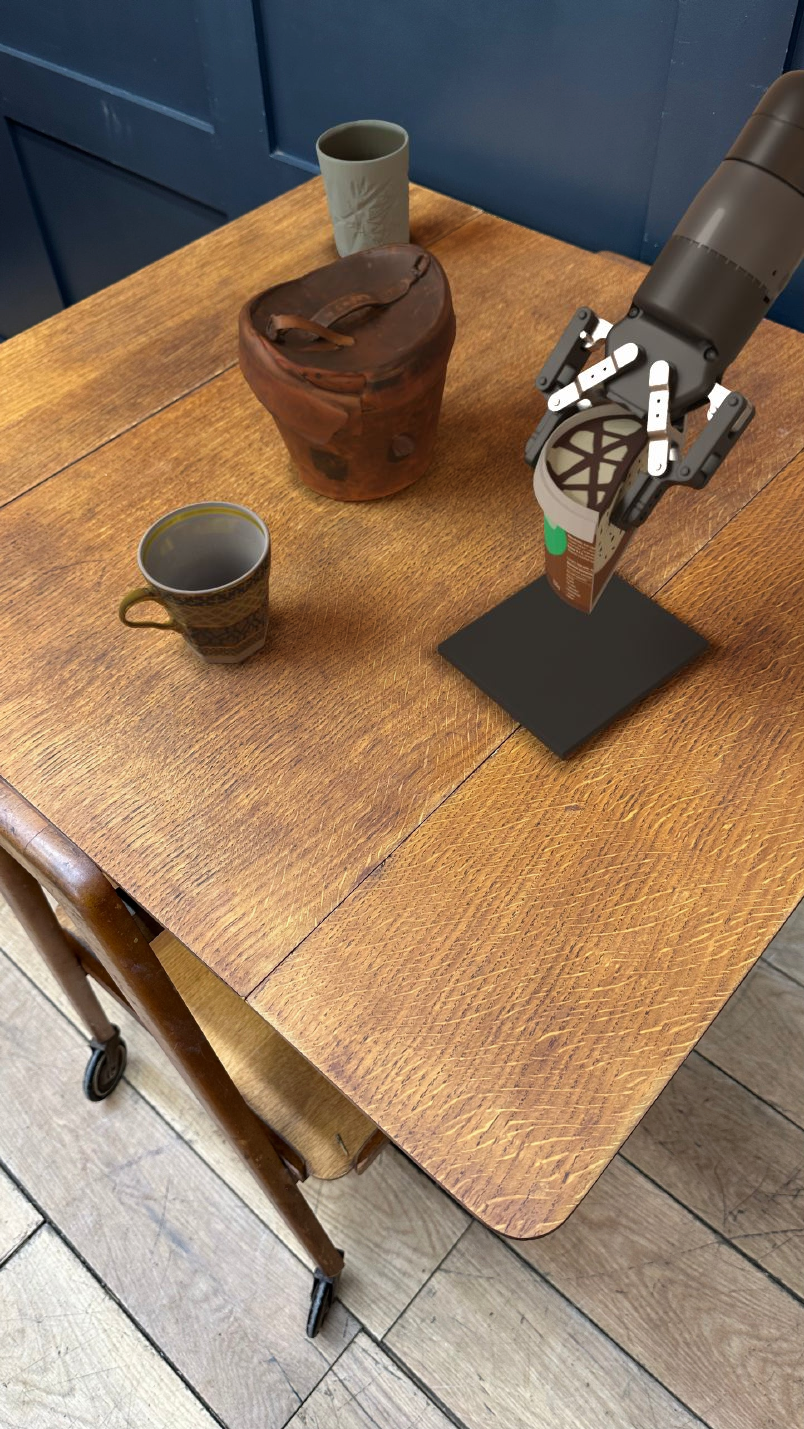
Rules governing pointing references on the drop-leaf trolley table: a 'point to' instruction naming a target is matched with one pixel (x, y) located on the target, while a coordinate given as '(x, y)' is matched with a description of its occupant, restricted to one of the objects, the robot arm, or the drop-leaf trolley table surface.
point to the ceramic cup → (208, 578)
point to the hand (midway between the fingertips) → (574, 496)
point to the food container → (588, 498)
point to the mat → (572, 658)
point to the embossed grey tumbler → (366, 183)
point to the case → (354, 367)
